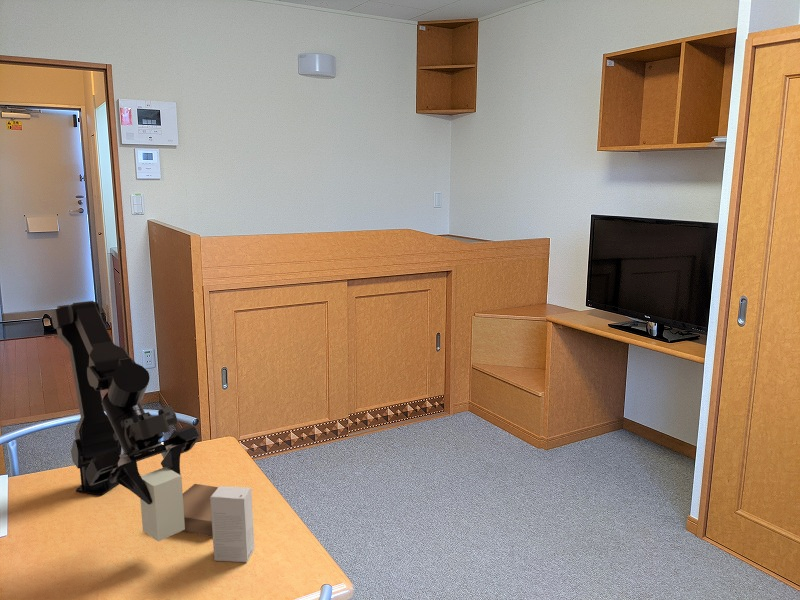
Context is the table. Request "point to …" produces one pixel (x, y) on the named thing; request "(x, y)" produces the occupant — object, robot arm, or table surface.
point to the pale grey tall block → (163, 504)
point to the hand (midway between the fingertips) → (165, 497)
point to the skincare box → (232, 524)
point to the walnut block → (198, 509)
